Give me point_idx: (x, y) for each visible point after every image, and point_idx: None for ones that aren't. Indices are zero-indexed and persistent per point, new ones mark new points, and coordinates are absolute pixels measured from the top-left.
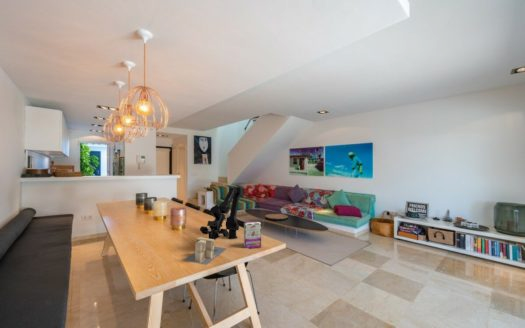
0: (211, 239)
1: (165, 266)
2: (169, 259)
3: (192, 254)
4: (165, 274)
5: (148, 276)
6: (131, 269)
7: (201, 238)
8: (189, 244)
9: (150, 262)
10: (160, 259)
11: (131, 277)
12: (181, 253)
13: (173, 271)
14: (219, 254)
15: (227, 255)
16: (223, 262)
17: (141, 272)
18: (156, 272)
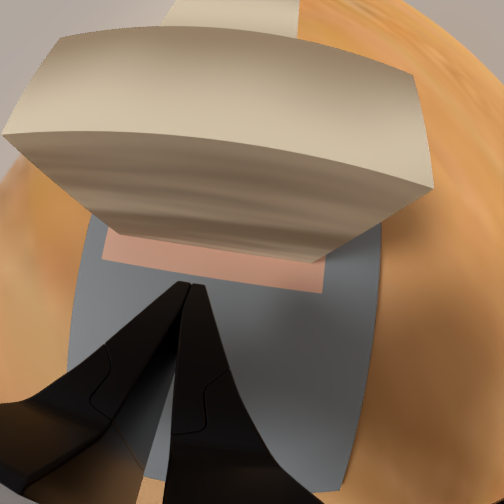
0: (51, 109)
1: (407, 67)
2: (459, 148)
3: (371, 232)
4: (339, 10)
5: (389, 11)
6: (484, 70)
7: (350, 117)
8: (476, 442)
9: (492, 118)
10: (490, 149)
11: (431, 20)
12: (464, 258)
13: (324, 23)
14: (76, 289)
15: (20, 304)
16: (32, 163)
17: (439, 40)
18: (391, 28)
